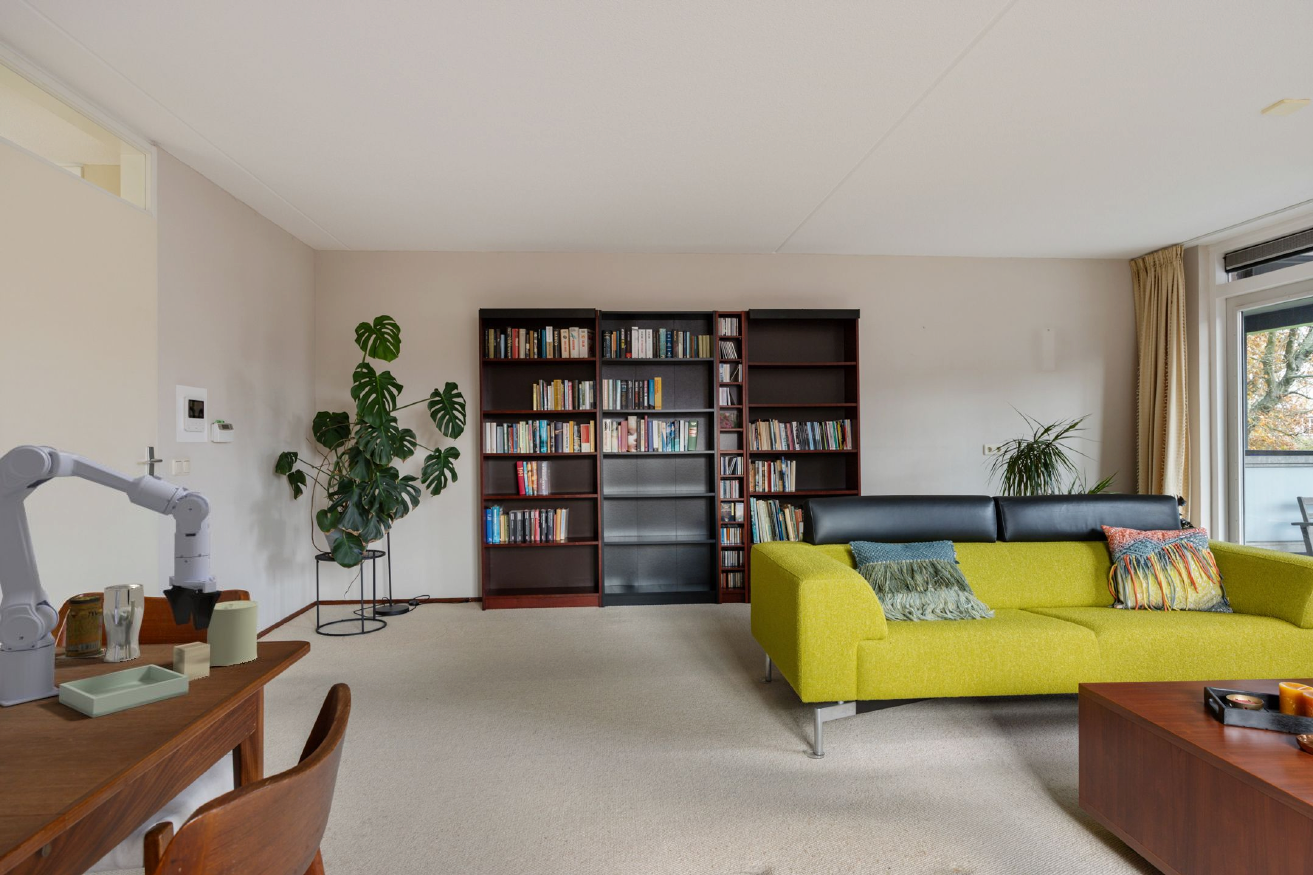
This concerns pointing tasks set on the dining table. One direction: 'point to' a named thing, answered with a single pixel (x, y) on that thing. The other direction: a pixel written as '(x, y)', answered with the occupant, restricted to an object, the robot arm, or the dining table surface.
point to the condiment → (84, 628)
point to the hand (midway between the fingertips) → (192, 626)
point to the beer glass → (122, 621)
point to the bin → (122, 690)
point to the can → (233, 633)
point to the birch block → (192, 660)
